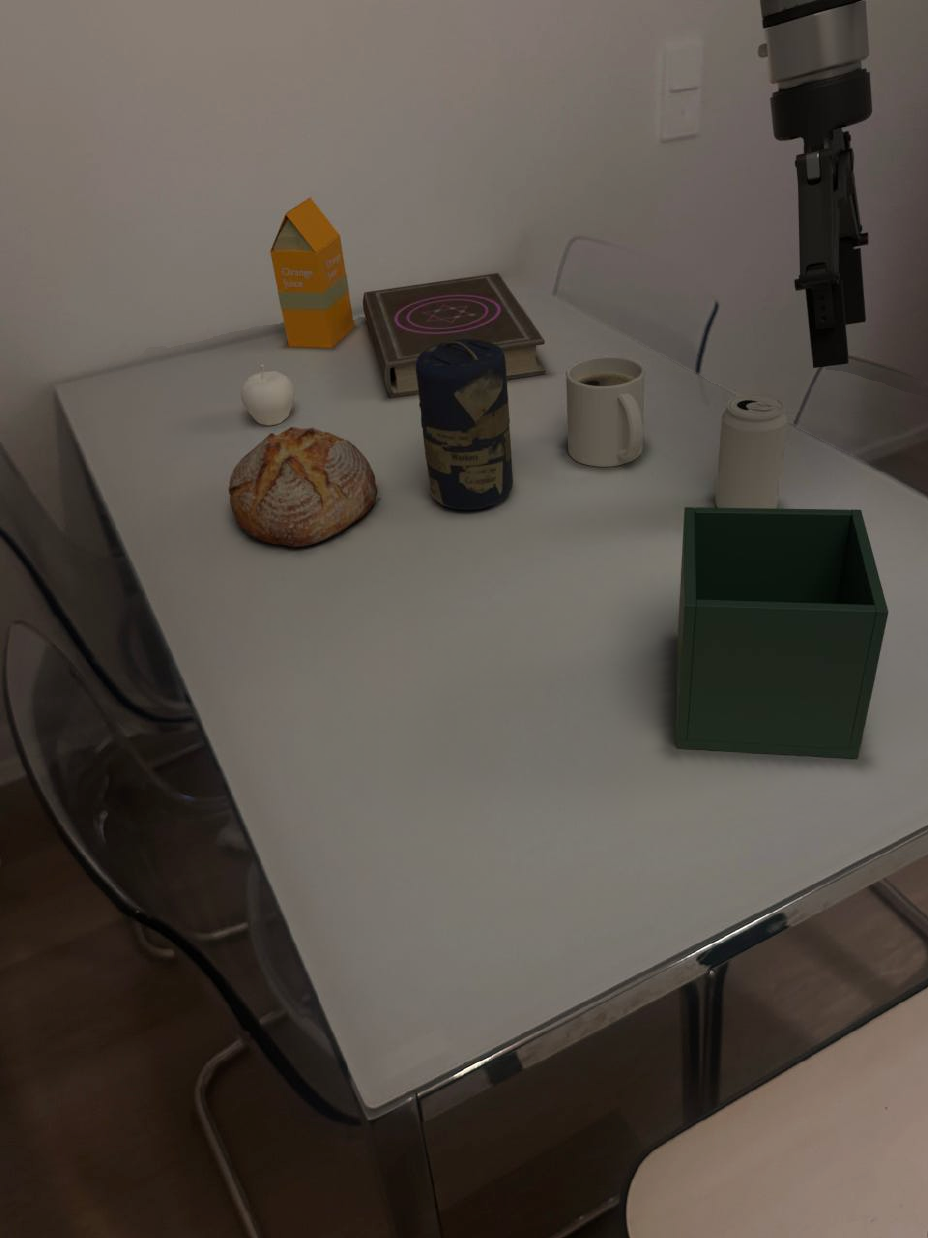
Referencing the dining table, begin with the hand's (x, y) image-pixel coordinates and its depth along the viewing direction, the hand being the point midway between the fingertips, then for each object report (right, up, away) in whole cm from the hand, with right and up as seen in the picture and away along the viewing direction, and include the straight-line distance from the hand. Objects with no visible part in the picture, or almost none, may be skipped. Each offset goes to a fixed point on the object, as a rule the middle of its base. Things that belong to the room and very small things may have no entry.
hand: (841, 343), depth 88 cm
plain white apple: (-59, +2, +47) cm, 75 cm away
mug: (-16, -5, +31) cm, 35 cm away
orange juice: (-56, +20, +70) cm, 92 cm away
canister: (-32, -10, +26) cm, 43 cm away
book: (-35, +16, +62) cm, 74 cm away
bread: (-51, -12, +27) cm, 59 cm away
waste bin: (-9, -31, -5) cm, 32 cm away
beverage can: (-3, -13, +19) cm, 23 cm away
